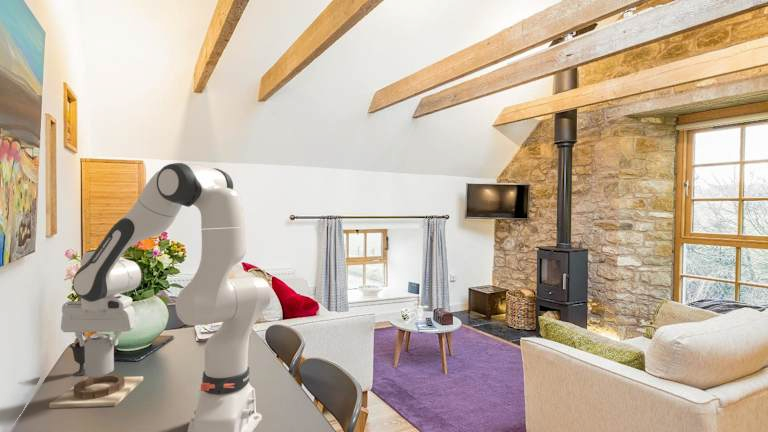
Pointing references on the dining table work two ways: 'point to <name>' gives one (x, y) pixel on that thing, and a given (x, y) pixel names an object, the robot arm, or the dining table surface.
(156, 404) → the dining table surface
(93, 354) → the can
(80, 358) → the sundae
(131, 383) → the ring board
